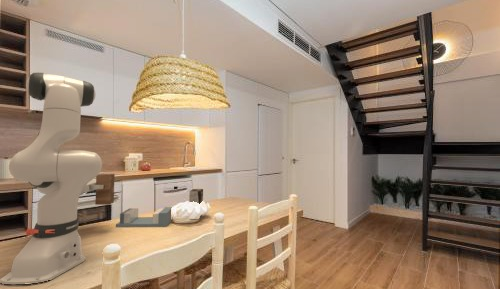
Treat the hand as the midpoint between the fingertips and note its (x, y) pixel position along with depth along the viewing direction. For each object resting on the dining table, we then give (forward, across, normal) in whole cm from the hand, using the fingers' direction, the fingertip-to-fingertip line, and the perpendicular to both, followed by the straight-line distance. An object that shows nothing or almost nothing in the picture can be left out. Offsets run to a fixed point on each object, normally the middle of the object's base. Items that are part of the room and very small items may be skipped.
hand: (107, 185), depth 119 cm
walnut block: (-1, 0, +8) cm, 8 cm away
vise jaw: (+6, +13, +20) cm, 25 cm away
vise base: (+14, +13, +22) cm, 29 cm away
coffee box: (+39, +24, +22) cm, 51 cm away
